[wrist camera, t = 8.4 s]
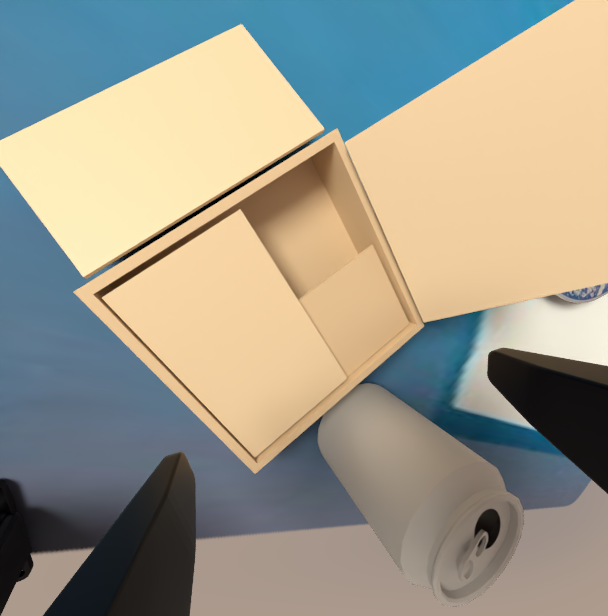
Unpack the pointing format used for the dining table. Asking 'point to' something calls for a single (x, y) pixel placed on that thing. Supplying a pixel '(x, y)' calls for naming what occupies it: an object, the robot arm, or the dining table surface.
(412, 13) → the dining table surface
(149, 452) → the dining table surface
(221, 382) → the carton
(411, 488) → the can
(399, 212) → the flap
